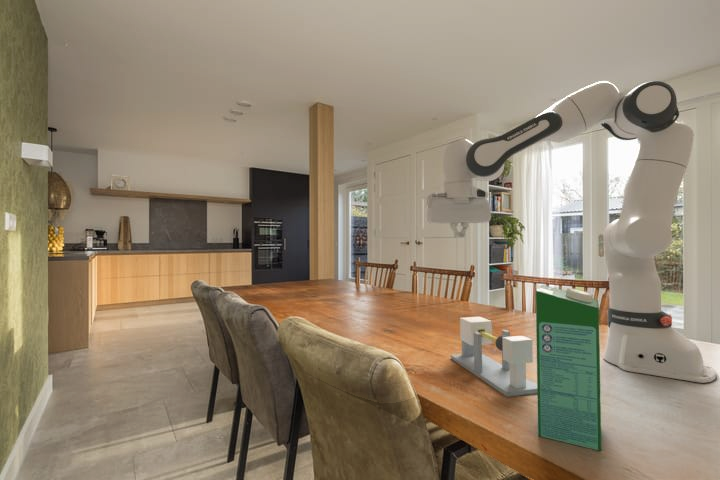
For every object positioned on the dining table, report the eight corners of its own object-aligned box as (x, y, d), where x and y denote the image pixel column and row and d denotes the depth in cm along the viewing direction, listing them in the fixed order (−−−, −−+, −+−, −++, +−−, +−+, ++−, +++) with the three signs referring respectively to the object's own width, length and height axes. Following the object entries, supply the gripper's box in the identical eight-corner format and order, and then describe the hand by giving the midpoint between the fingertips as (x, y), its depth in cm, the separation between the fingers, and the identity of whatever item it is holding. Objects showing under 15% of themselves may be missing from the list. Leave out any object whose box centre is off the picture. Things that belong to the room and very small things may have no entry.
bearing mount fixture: (451, 358, 103) (450, 317, 103) (479, 355, 105) (479, 315, 105) (506, 396, 78) (505, 343, 78) (543, 392, 80) (542, 339, 80)
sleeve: (460, 339, 101) (459, 317, 101) (480, 337, 102) (479, 316, 102) (471, 345, 95) (471, 322, 95) (492, 343, 96) (491, 321, 96)
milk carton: (601, 451, 58) (598, 293, 58) (537, 436, 62) (535, 289, 62) (599, 426, 65) (597, 286, 65) (543, 414, 70) (541, 284, 70)
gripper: (431, 191, 109) (432, 238, 108) (493, 192, 113) (494, 236, 113) (423, 194, 115) (424, 238, 114) (482, 195, 119) (483, 237, 119)
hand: (459, 237), depth 114 cm, fingers closed
